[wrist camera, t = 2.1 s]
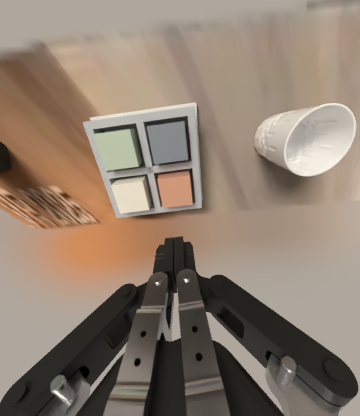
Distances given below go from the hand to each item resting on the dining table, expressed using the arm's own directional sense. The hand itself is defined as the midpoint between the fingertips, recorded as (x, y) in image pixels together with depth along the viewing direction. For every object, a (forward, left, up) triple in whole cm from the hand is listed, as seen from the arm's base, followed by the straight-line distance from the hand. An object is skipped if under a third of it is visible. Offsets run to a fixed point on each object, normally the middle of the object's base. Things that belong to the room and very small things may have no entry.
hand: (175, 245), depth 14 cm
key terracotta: (0, 0, -16) cm, 16 cm away
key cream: (+6, -4, -15) cm, 17 cm away
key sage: (+2, -10, -16) cm, 18 cm away
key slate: (-4, -6, -15) cm, 17 cm away
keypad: (+1, -5, -19) cm, 19 cm away
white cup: (-17, +6, -19) cm, 26 cm away
